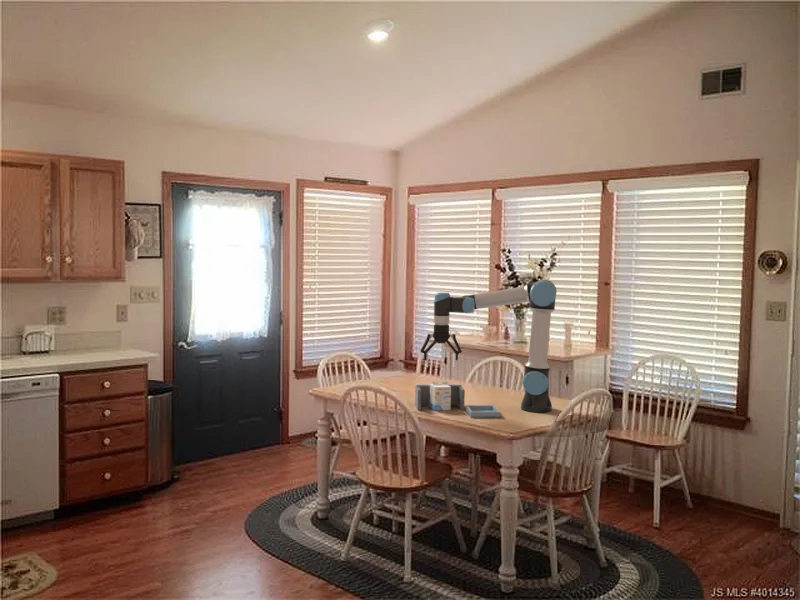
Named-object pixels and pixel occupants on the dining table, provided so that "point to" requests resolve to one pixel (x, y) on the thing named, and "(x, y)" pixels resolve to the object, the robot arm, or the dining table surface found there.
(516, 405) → the dining table surface
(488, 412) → the tray
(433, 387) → the ink box
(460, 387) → the bay
